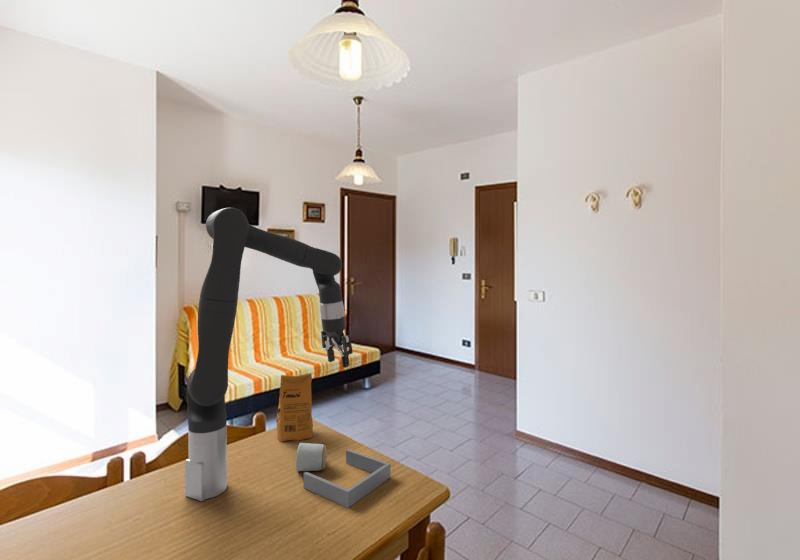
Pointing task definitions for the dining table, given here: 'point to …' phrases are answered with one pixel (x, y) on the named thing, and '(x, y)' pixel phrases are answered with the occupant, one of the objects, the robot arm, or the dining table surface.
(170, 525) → the dining table surface
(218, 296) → the robot arm
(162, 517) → the dining table surface
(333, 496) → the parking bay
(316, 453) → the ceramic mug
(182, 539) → the dining table surface
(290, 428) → the coffee package
